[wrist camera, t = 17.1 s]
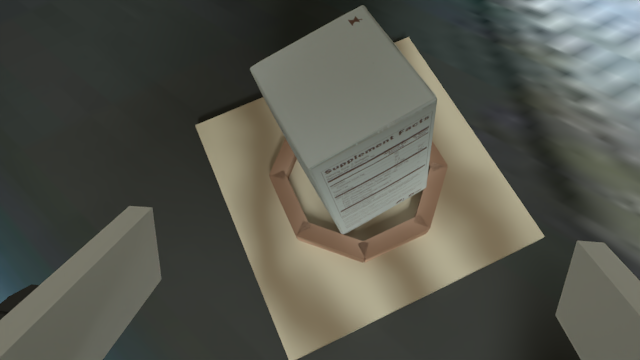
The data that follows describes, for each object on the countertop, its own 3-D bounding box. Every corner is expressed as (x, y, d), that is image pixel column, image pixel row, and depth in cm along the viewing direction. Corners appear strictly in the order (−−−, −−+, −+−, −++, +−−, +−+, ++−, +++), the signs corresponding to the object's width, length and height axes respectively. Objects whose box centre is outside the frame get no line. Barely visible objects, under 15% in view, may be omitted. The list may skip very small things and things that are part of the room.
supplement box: (297, 161, 35) (244, 63, 24) (379, 116, 36) (365, -3, 24) (341, 240, 32) (304, 171, 21) (430, 190, 32) (442, 95, 21)
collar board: (407, 44, 40) (410, 27, 38) (539, 240, 33) (551, 231, 31) (198, 131, 38) (190, 117, 36) (291, 362, 31) (287, 362, 29)
